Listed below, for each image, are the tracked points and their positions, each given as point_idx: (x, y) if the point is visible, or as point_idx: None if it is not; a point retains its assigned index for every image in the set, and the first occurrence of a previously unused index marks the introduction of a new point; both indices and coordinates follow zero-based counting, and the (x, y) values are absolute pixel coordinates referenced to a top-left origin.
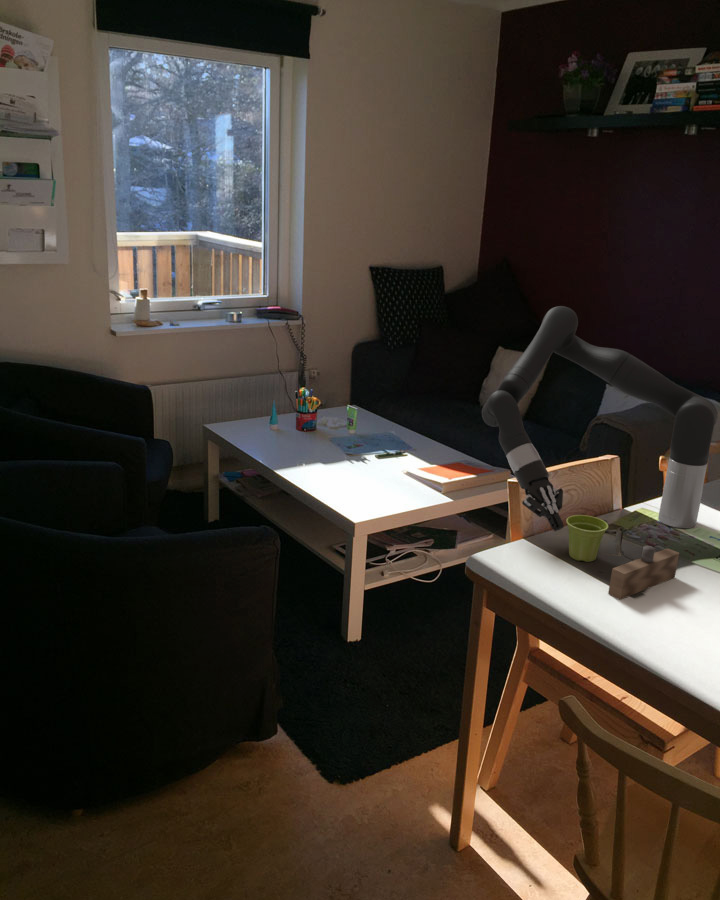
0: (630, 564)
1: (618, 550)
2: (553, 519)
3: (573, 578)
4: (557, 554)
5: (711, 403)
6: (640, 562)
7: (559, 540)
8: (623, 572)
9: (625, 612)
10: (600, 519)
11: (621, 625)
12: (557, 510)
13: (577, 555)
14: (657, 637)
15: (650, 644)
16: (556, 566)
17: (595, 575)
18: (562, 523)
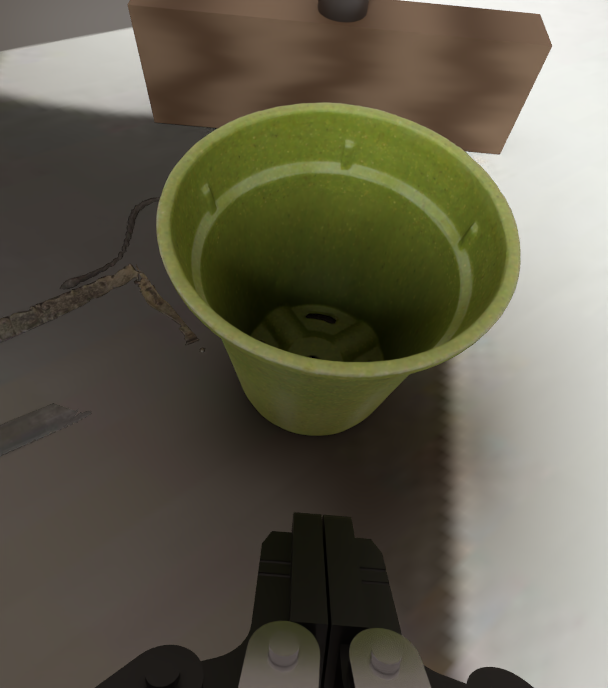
0: (443, 26)
1: (76, 297)
2: (377, 598)
3: (541, 272)
4: (420, 467)
5: None
6: (385, 14)
7: (219, 609)
8: (533, 18)
9: (536, 91)
10: (171, 187)
11: (602, 74)
12: (277, 635)
13: (394, 337)
14: (549, 22)
15: (591, 21)
16: (537, 379)
17: None
18: (295, 526)
